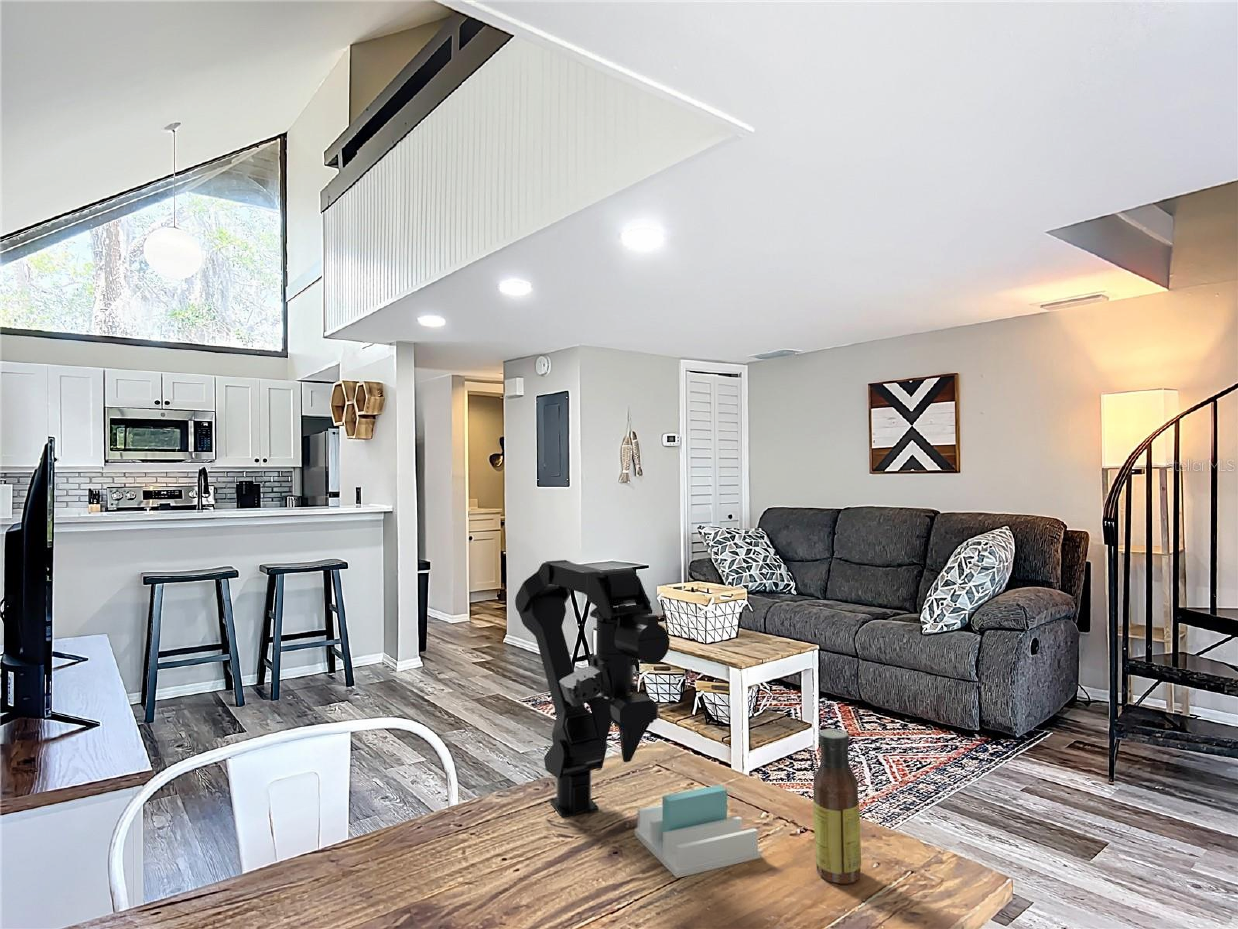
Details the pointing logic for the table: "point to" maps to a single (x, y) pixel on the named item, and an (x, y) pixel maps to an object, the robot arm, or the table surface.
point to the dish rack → (696, 843)
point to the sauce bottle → (836, 811)
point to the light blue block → (694, 808)
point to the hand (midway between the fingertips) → (614, 751)
